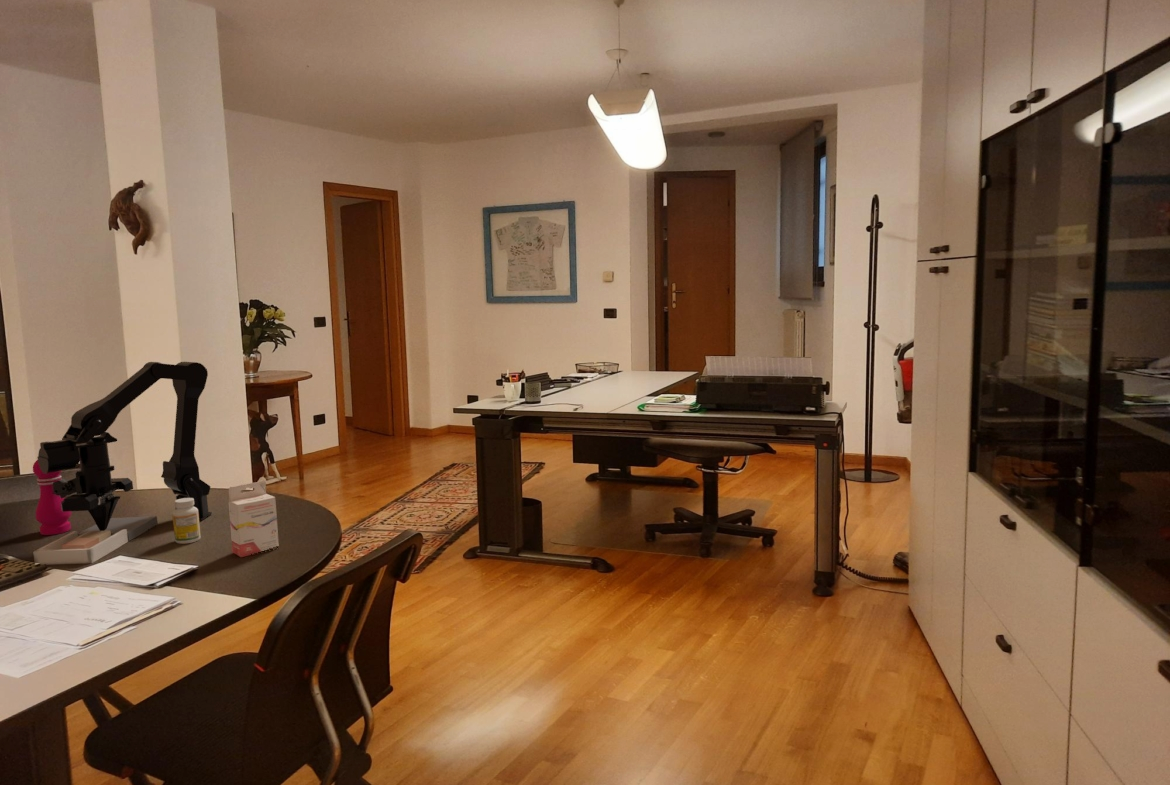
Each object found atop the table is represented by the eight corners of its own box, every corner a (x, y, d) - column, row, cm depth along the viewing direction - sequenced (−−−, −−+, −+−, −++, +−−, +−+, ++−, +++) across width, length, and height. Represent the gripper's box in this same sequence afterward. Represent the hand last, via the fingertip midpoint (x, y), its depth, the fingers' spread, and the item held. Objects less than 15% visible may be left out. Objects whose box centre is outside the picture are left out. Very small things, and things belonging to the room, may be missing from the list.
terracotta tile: (100, 548, 178) (98, 537, 177) (85, 555, 173) (84, 544, 173) (78, 548, 178) (76, 537, 178) (63, 556, 173) (61, 545, 173)
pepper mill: (55, 536, 189) (45, 454, 186) (30, 535, 190) (19, 453, 188) (80, 527, 196) (71, 447, 193) (55, 526, 197) (46, 447, 195)
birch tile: (111, 541, 183) (110, 530, 182) (98, 548, 178) (96, 537, 177) (90, 541, 183) (89, 531, 183) (76, 548, 178) (74, 538, 178)
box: (127, 541, 183) (126, 529, 183) (92, 563, 169) (90, 549, 169) (75, 543, 183) (73, 531, 182) (35, 565, 169) (33, 551, 169)
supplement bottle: (194, 543, 180) (190, 502, 179) (170, 544, 180) (166, 503, 179) (205, 536, 186) (201, 496, 184) (181, 537, 185) (177, 497, 184)
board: (157, 524, 196) (156, 516, 196) (129, 541, 184) (128, 532, 183) (108, 525, 196) (107, 518, 196) (76, 543, 183) (75, 534, 183)
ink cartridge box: (241, 558, 170) (234, 491, 168) (232, 553, 173) (225, 487, 171) (280, 548, 176) (274, 483, 174) (270, 543, 179) (265, 479, 177)
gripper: (83, 456, 190) (91, 519, 193) (32, 475, 172) (41, 545, 174) (130, 454, 191) (137, 517, 193) (84, 473, 172) (92, 542, 174)
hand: (103, 530), depth 184 cm, fingers closed
